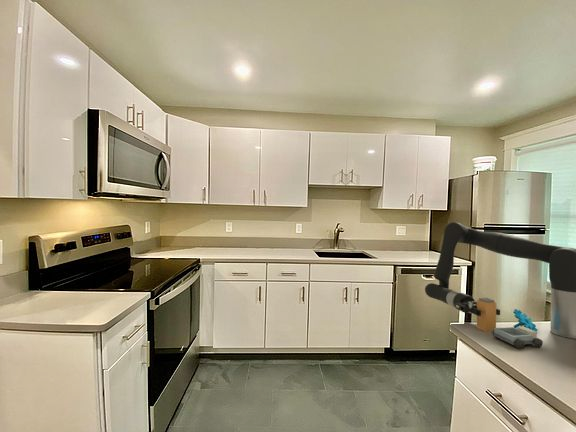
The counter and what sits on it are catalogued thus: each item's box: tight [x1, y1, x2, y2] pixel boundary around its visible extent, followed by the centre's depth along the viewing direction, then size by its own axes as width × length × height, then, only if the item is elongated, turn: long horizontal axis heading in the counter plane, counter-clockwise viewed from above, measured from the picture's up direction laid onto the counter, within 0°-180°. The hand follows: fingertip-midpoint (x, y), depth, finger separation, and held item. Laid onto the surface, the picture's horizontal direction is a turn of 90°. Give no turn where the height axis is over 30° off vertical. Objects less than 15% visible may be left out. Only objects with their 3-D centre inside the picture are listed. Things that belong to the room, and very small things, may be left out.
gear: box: [512, 308, 539, 333], centre depth 118 cm, size 11×6×10 cm
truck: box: [491, 326, 544, 350], centre depth 105 cm, size 11×10×4 cm
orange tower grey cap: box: [476, 297, 497, 333], centre depth 117 cm, size 4×4×12 cm
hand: (489, 313), depth 115 cm, fingers open, 8 cm apart
